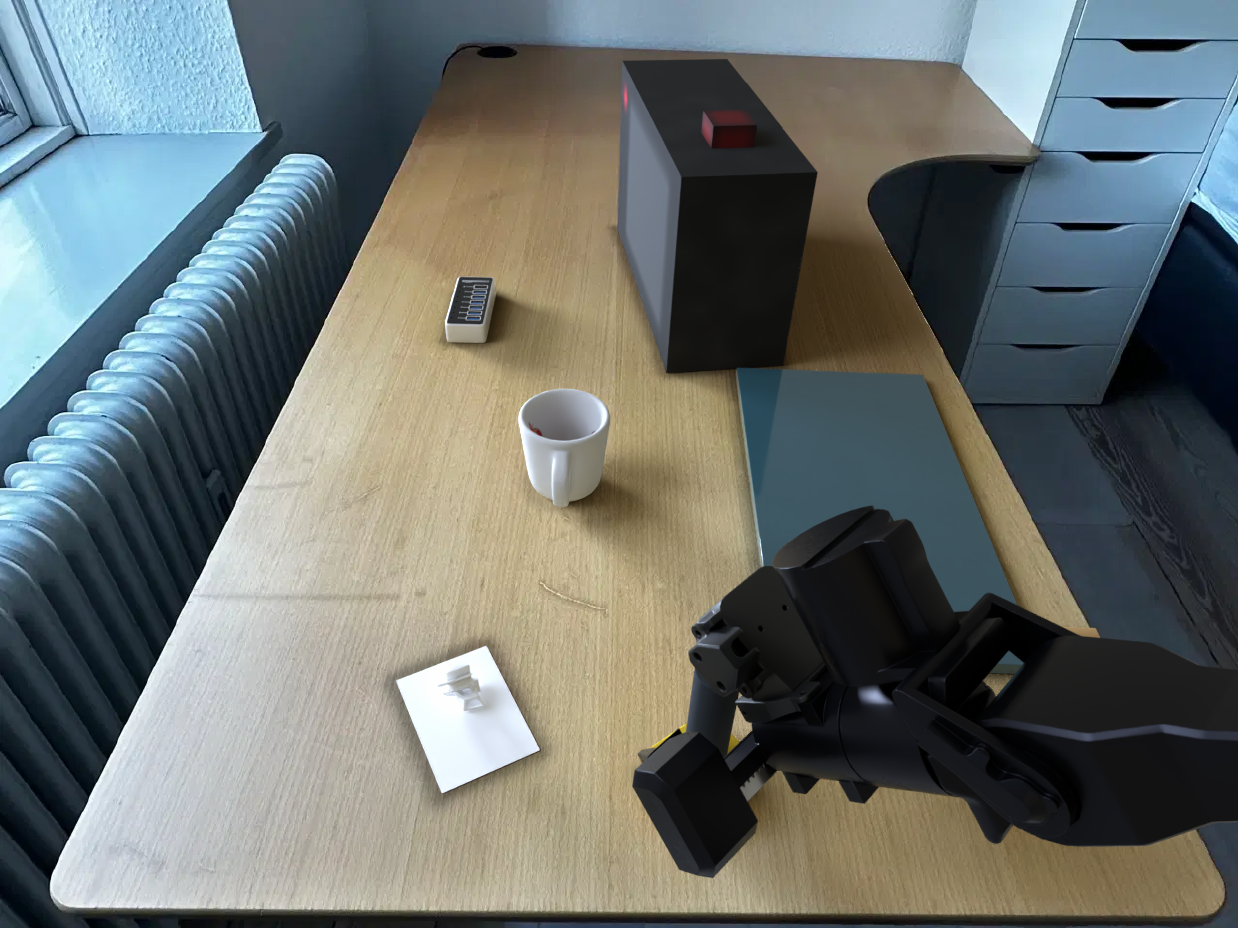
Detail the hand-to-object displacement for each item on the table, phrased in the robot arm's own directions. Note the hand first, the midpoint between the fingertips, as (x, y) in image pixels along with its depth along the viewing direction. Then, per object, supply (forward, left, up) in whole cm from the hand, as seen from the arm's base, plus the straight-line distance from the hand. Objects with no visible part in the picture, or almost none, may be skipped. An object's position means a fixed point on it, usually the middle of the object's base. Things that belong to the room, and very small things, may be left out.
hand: (693, 713), depth 56 cm
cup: (+28, -9, -7) cm, 30 cm away
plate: (+11, -31, -7) cm, 33 cm away
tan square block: (-11, -30, -7) cm, 33 cm away
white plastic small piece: (+13, +10, -7) cm, 17 cm away
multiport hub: (+59, -18, -7) cm, 62 cm away
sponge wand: (-1, 0, -7) cm, 7 cm away
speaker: (+49, -44, -7) cm, 66 cm away
